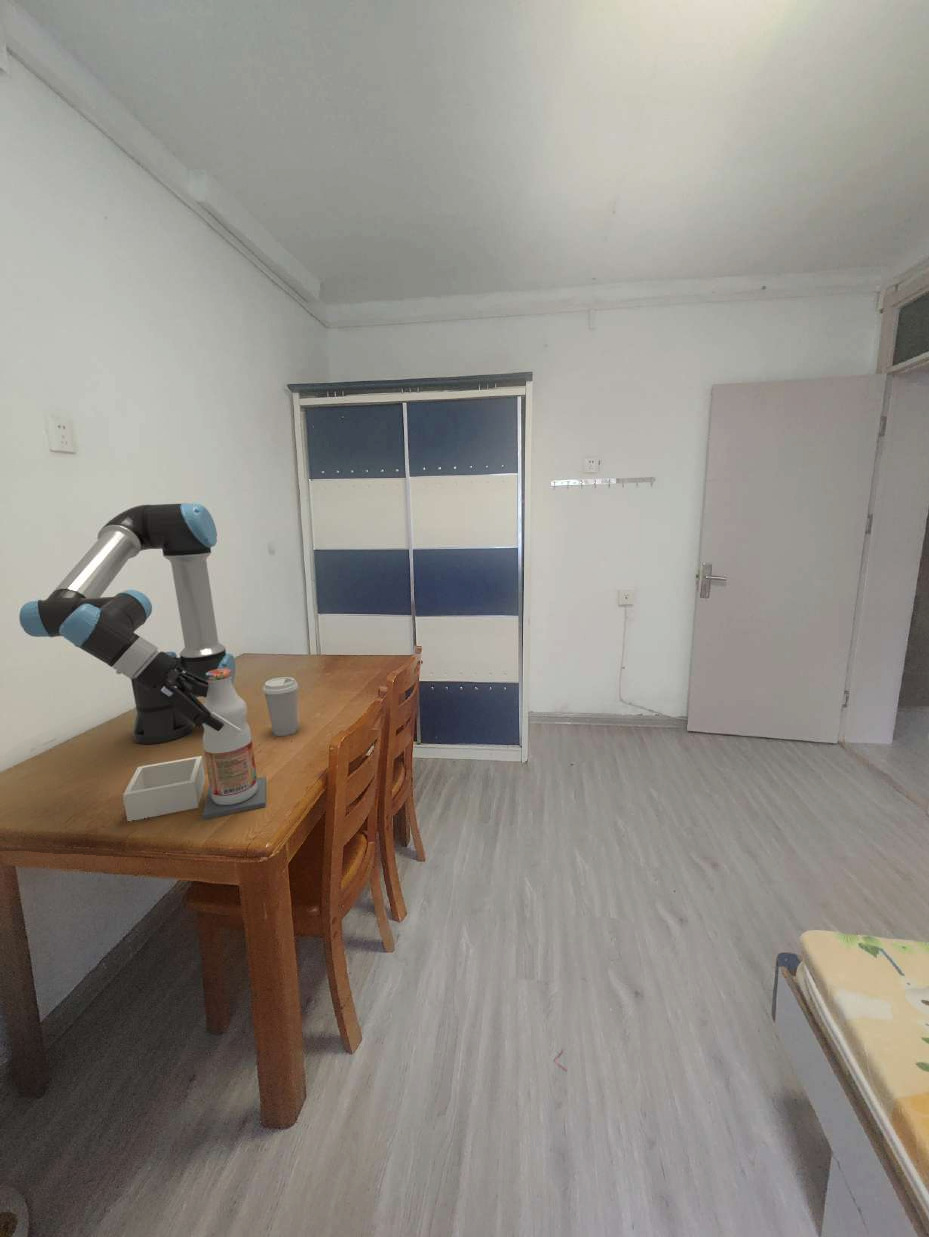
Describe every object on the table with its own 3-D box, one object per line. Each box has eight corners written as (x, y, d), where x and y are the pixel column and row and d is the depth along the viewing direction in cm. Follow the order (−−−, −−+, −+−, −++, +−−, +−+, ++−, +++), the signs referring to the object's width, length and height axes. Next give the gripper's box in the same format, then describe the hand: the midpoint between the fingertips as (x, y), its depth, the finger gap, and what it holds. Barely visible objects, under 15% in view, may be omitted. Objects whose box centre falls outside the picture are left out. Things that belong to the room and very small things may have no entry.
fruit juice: (201, 801, 110) (182, 676, 104) (237, 780, 118) (221, 663, 112) (232, 810, 106) (214, 681, 100) (267, 788, 114) (252, 667, 108)
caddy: (142, 791, 117) (138, 766, 116) (205, 779, 121) (201, 755, 120) (127, 821, 105) (122, 795, 104) (198, 807, 109) (194, 781, 108)
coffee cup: (291, 739, 142) (286, 687, 139) (260, 737, 144) (254, 686, 141) (308, 725, 151) (303, 676, 148) (279, 724, 153) (274, 675, 150)
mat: (209, 791, 116) (208, 787, 116) (266, 780, 120) (265, 776, 120) (202, 819, 105) (202, 815, 105) (265, 806, 109) (265, 802, 109)
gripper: (147, 663, 113) (230, 716, 121) (115, 699, 90) (220, 762, 98) (171, 637, 113) (252, 691, 121) (145, 666, 90) (247, 731, 98)
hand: (238, 723), depth 110 cm, fingers open, 13 cm apart
